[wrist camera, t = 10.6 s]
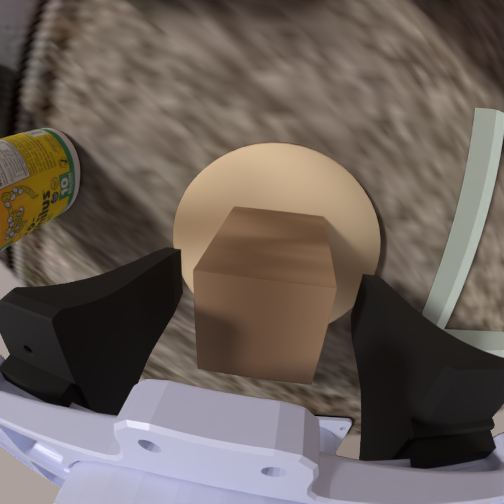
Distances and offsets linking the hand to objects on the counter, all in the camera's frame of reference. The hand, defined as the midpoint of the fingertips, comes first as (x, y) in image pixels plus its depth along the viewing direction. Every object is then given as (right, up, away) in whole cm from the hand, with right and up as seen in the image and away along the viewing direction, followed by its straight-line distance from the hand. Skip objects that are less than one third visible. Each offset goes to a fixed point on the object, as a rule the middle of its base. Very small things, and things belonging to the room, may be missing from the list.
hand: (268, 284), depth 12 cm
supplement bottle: (-13, +6, +3) cm, 14 cm away
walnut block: (0, +1, +3) cm, 3 cm away
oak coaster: (+1, +2, +3) cm, 4 cm away
